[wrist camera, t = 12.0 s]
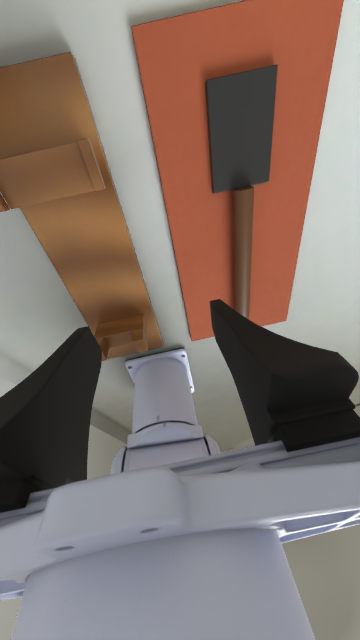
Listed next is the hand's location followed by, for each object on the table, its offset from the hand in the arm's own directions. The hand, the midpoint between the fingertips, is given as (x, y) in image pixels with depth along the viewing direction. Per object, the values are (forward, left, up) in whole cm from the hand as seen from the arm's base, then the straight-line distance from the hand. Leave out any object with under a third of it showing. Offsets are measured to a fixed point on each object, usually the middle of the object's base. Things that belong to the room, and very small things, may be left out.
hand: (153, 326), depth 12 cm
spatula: (+2, -9, -8) cm, 12 cm away
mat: (+2, -9, -9) cm, 13 cm away
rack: (+2, +4, -9) cm, 11 cm away
